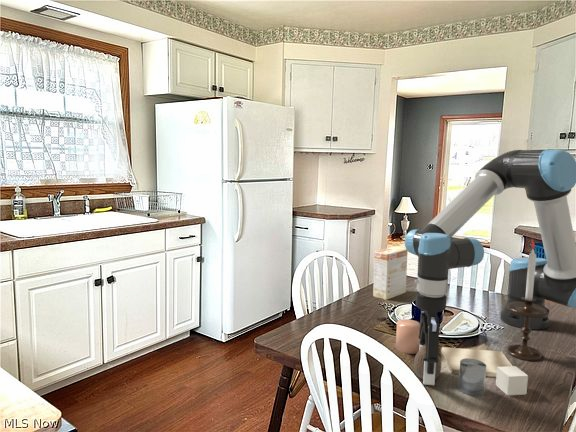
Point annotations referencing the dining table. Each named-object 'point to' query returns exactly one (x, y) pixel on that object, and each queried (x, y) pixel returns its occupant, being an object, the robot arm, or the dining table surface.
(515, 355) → the candlestick
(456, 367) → the birch board
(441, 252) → the robot arm
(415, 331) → the pink pillar candle
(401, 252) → the coffeecake box
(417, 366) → the vase
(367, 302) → the dining table surface
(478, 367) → the grey tin
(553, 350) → the dining table surface
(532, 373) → the dining table surface
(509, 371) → the cream block
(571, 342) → the dining table surface
